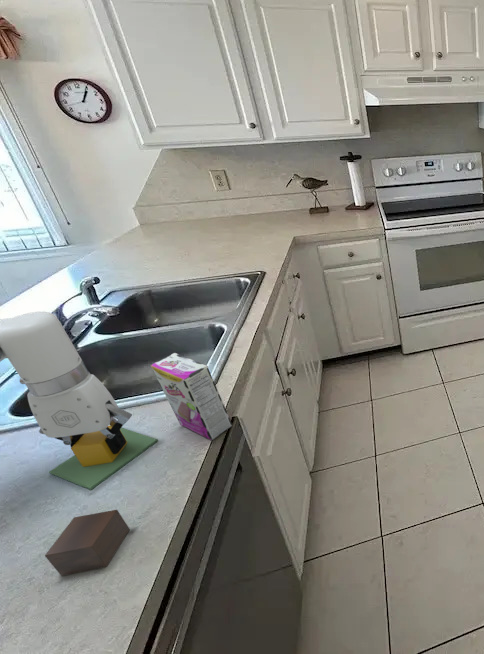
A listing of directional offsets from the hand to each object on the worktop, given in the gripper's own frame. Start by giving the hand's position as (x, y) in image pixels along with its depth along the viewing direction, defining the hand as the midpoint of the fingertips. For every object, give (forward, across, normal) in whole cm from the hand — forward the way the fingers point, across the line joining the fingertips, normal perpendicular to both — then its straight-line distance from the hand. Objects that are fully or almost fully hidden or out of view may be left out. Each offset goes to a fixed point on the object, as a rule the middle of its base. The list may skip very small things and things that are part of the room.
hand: (103, 450), depth 81 cm
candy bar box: (+2, +16, +4) cm, 17 cm away
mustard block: (+1, 0, 0) cm, 1 cm away
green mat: (+2, 0, 0) cm, 2 cm away
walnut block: (+2, +11, -21) cm, 24 cm away
